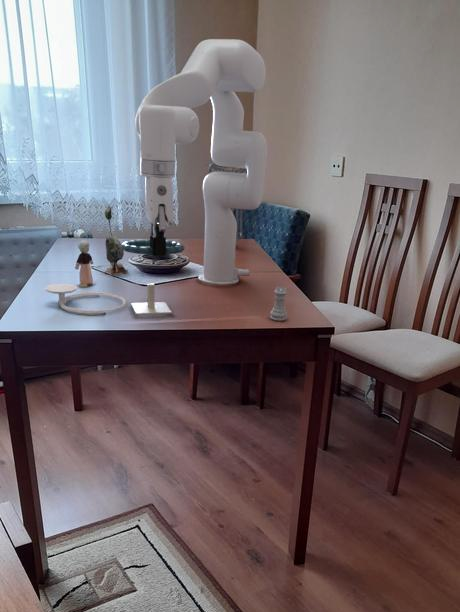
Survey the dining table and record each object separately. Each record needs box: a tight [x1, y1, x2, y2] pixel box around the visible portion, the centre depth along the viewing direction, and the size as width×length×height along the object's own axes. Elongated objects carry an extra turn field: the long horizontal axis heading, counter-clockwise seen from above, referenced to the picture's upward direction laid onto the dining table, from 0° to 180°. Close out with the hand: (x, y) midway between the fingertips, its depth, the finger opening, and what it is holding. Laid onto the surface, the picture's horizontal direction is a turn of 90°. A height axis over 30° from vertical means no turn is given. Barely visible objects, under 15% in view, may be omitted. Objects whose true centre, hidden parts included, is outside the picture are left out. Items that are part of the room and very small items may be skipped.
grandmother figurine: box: [74, 239, 94, 288], centre depth 158 cm, size 8×4×13 cm, turn 168°
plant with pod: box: [104, 205, 130, 276], centre depth 170 cm, size 8×11×20 cm
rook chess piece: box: [269, 286, 288, 322], centre depth 140 cm, size 4×4×8 cm
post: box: [130, 282, 173, 316], centre depth 140 cm, size 9×9×7 cm
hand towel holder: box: [44, 282, 127, 316], centre depth 143 cm, size 17×4×21 cm
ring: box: [121, 239, 185, 256], centre depth 135 cm, size 15×15×2 cm
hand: (157, 253), depth 130 cm, fingers closed on ring, 1 cm apart
